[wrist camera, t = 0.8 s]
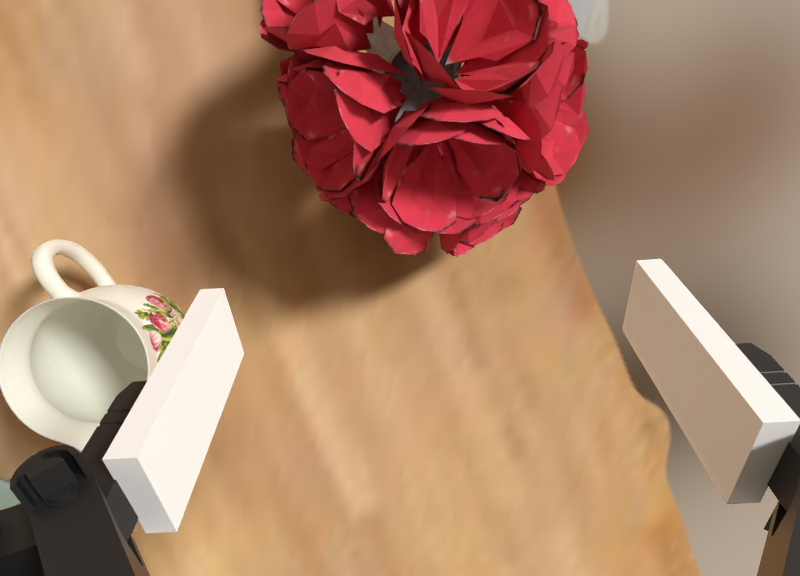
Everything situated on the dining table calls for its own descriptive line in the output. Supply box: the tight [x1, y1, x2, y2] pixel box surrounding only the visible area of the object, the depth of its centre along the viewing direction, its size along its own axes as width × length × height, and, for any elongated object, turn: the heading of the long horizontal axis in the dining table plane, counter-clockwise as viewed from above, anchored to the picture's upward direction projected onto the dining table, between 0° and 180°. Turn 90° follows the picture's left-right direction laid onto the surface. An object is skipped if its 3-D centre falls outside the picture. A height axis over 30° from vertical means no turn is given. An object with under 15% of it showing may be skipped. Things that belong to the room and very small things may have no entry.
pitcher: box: [0, 239, 185, 452], centre depth 42 cm, size 11×18×14 cm, turn 25°
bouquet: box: [259, 0, 589, 258], centre depth 39 cm, size 22×24×30 cm
